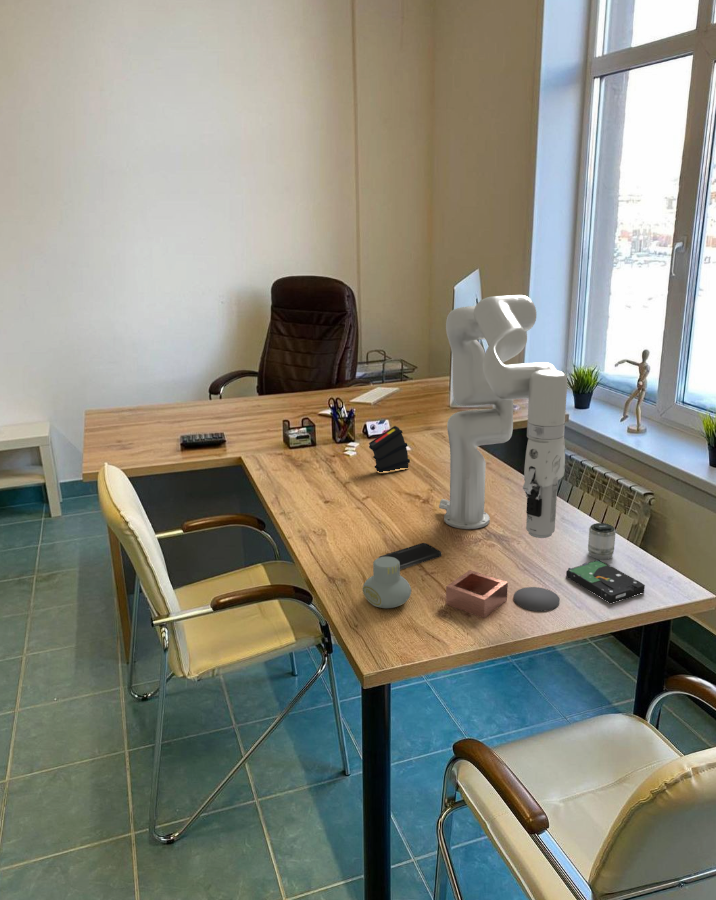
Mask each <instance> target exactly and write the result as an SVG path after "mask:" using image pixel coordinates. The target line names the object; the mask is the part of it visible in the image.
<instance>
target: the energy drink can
mask: <svg viewBox="0 0 716 900" xmlns="http://www.w3.org/2000/svg"><path fill="white" fill-rule="evenodd" d="M558 481H559V480H558V477H555V478H554V479H553V484H551V485H550V486H548V487H546V488H542V493H541V497H540V499H542V511H541V516H540V517H536V516H532V515H528V514H527V513H526V522H525V523H526V527H525V529H526V531H527V532H528V535H529V536H531V537H533V538H538V539H547V538H550V537H552V534H553V533H555V529H556V513H557V497H558V488H557V484H558V485H559V482H558ZM533 483H534V484H538V483H537V481H535V480H534V482H533ZM533 489H534V490H535V491H536V492H537V489H538V487H534V486H533Z"/></svg>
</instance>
